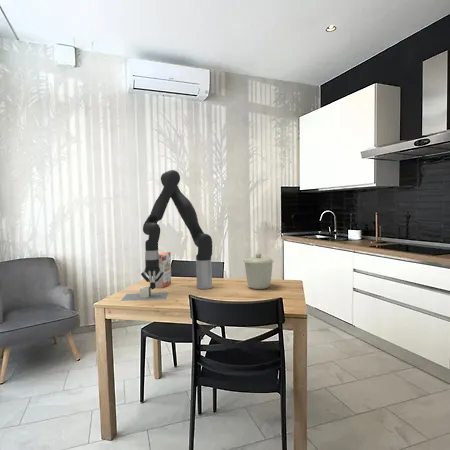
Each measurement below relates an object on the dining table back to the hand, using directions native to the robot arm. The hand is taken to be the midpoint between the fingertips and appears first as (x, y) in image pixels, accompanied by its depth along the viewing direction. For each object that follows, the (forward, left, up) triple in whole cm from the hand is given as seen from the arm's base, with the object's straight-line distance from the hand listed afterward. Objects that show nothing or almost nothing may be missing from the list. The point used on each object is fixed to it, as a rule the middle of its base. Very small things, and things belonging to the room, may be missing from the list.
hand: (152, 289), depth 184 cm
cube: (+2, 0, -1) cm, 2 cm away
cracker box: (-3, -25, -4) cm, 26 cm away
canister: (-62, -11, -4) cm, 63 cm away
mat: (+4, 0, -4) cm, 6 cm away
